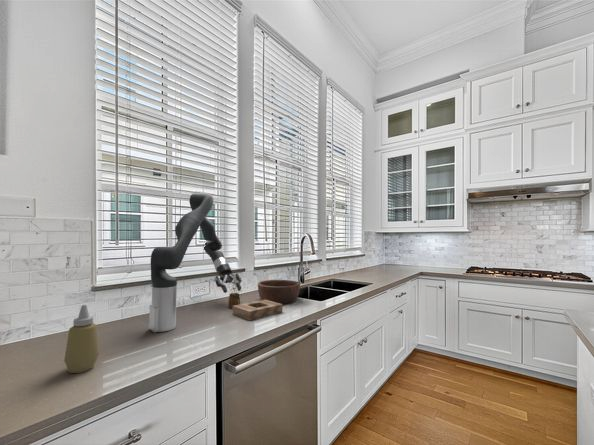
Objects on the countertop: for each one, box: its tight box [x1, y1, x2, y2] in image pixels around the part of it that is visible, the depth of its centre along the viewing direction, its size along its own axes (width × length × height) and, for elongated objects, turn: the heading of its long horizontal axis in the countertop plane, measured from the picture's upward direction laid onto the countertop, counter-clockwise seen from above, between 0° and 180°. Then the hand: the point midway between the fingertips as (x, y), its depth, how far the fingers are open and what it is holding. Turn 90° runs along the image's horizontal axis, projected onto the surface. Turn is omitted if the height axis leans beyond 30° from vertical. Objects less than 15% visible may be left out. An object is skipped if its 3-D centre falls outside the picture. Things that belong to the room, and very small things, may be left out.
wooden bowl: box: [257, 279, 301, 305], centre depth 170 cm, size 25×25×10 cm
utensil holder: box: [228, 282, 241, 309], centre depth 153 cm, size 6×6×12 cm
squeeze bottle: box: [63, 304, 100, 374], centre depth 83 cm, size 8×8×18 cm
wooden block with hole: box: [232, 299, 284, 321], centre depth 142 cm, size 20×14×4 cm
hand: (233, 290), depth 154 cm, fingers open, 8 cm apart
